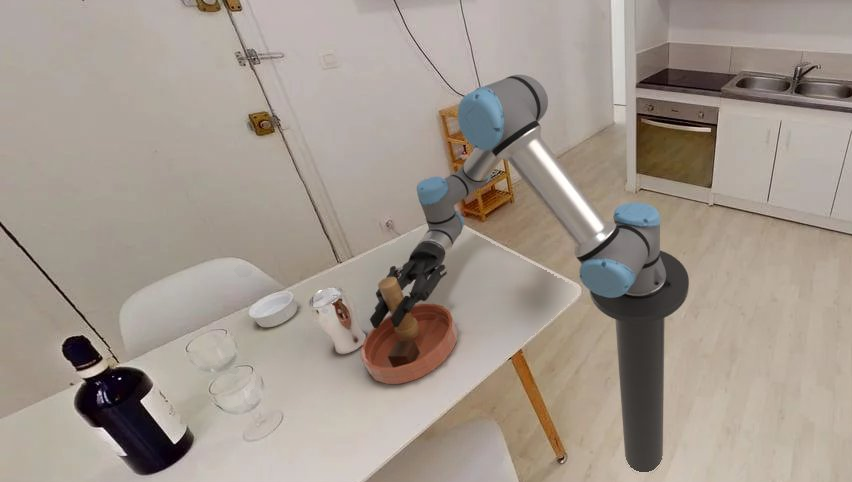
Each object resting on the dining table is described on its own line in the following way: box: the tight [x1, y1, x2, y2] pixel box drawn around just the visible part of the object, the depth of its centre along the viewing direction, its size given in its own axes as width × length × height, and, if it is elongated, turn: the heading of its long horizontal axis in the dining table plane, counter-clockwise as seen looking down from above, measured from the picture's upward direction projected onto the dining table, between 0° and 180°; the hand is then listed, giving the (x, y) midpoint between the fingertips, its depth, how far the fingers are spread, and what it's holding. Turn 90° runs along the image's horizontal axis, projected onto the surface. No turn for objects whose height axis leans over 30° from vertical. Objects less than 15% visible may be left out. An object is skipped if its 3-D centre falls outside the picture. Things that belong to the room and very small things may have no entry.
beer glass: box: [307, 285, 367, 355], centre depth 92 cm, size 7×7×15 cm
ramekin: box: [248, 290, 298, 328], centre depth 103 cm, size 9×9×4 cm
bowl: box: [360, 303, 458, 385], centre depth 93 cm, size 18×18×5 cm
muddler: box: [377, 276, 420, 341], centre depth 91 cm, size 5×5×16 cm
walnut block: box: [388, 341, 420, 367], centre depth 90 cm, size 4×4×4 cm
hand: (384, 322), depth 86 cm, fingers closed on muddler, 4 cm apart
